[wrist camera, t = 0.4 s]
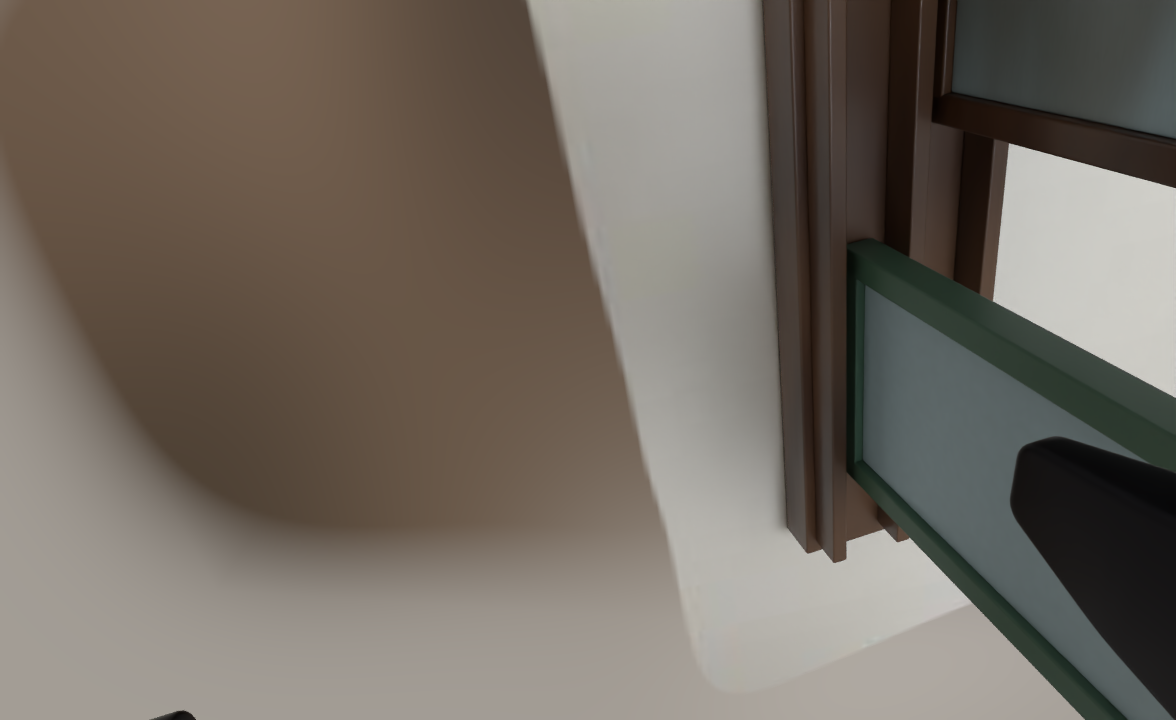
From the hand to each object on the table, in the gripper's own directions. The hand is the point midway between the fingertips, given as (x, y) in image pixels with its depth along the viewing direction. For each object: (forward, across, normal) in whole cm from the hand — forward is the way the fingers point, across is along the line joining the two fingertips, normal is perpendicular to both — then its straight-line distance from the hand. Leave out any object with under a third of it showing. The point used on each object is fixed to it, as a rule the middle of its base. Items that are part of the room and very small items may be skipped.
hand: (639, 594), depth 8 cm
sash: (+13, -10, +8) cm, 18 cm away
